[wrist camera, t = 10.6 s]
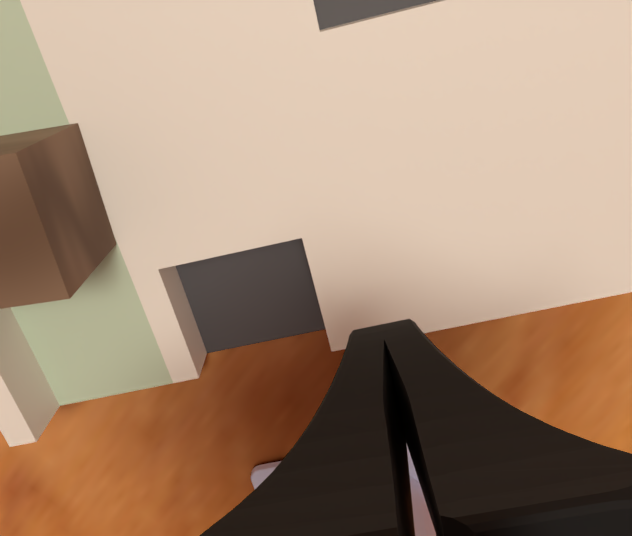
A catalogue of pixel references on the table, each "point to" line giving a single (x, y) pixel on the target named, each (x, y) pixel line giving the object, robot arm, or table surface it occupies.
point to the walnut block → (48, 216)
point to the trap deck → (315, 174)
